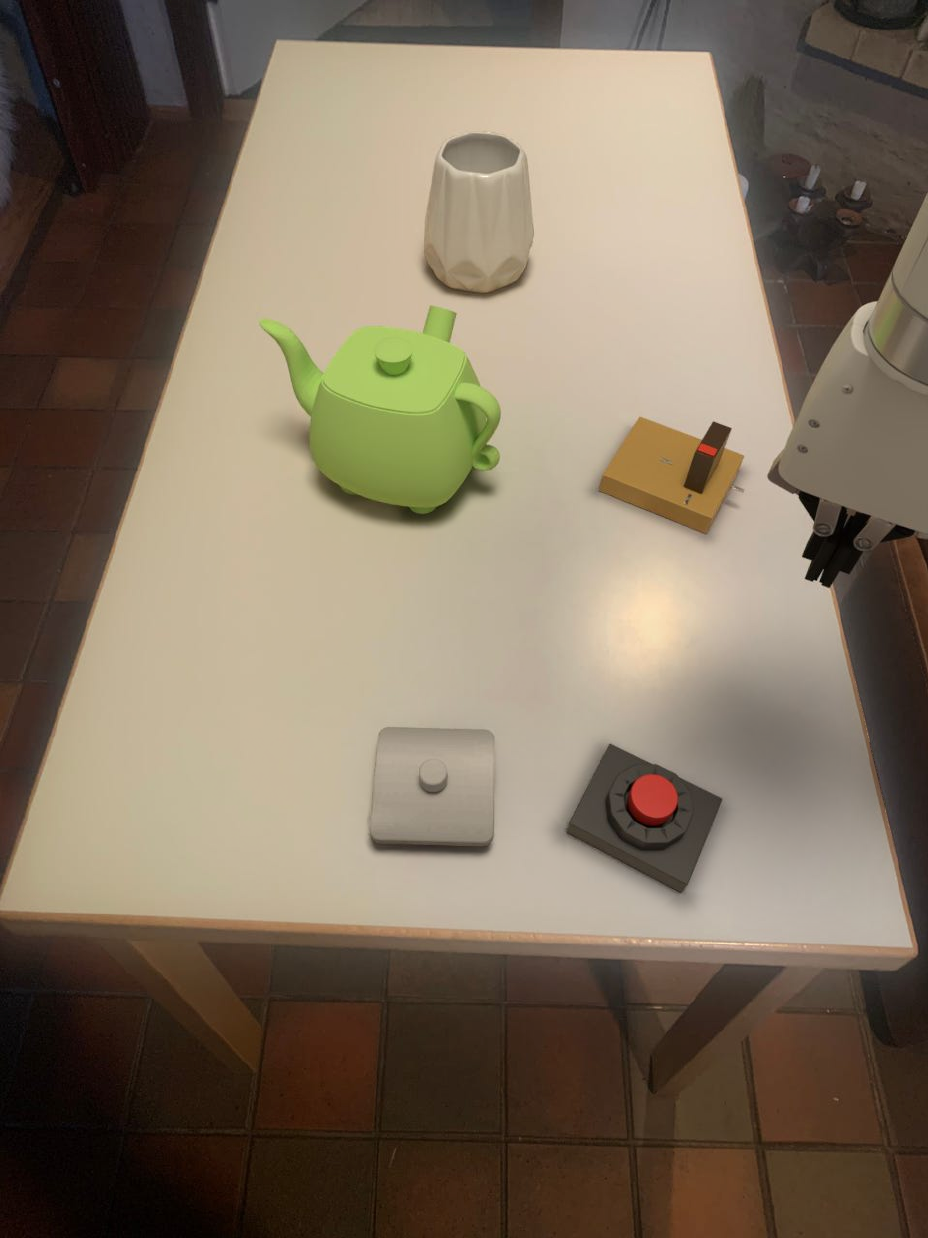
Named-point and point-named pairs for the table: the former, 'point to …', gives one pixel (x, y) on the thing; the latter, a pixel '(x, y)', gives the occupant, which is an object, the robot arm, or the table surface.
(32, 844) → the table surface
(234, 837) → the table surface
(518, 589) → the table surface
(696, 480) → the lock knob
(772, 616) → the table surface
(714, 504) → the plate
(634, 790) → the button
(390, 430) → the teapot
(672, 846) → the button base
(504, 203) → the vase
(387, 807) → the light switch
